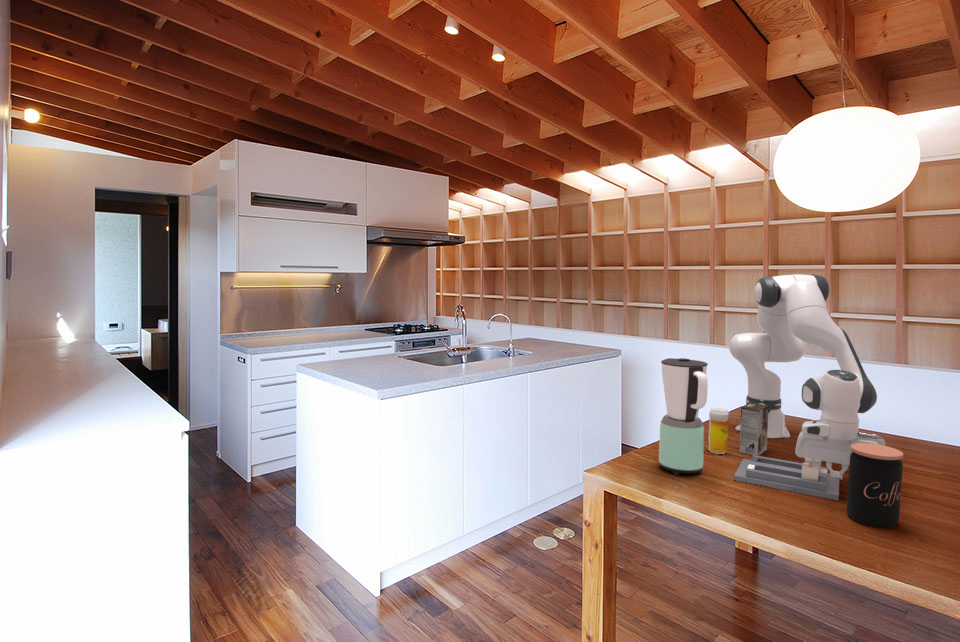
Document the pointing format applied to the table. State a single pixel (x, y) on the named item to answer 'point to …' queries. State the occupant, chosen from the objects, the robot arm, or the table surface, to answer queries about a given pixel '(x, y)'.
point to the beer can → (718, 430)
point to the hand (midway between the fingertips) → (836, 478)
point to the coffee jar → (874, 485)
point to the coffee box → (753, 429)
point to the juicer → (683, 415)
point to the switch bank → (786, 477)
